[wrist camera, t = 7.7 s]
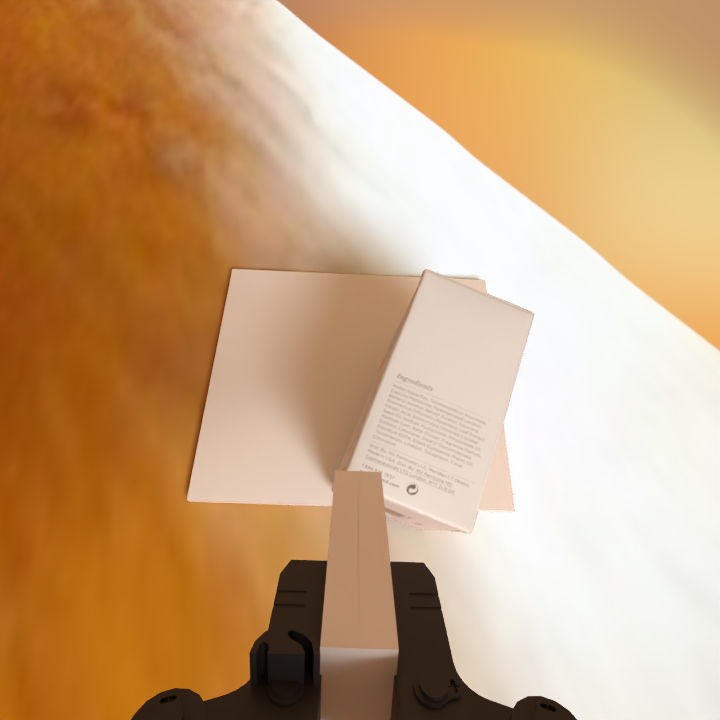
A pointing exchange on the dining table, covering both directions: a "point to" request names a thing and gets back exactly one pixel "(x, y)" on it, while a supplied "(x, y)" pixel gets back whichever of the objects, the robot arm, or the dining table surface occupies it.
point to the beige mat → (301, 386)
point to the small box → (440, 403)
